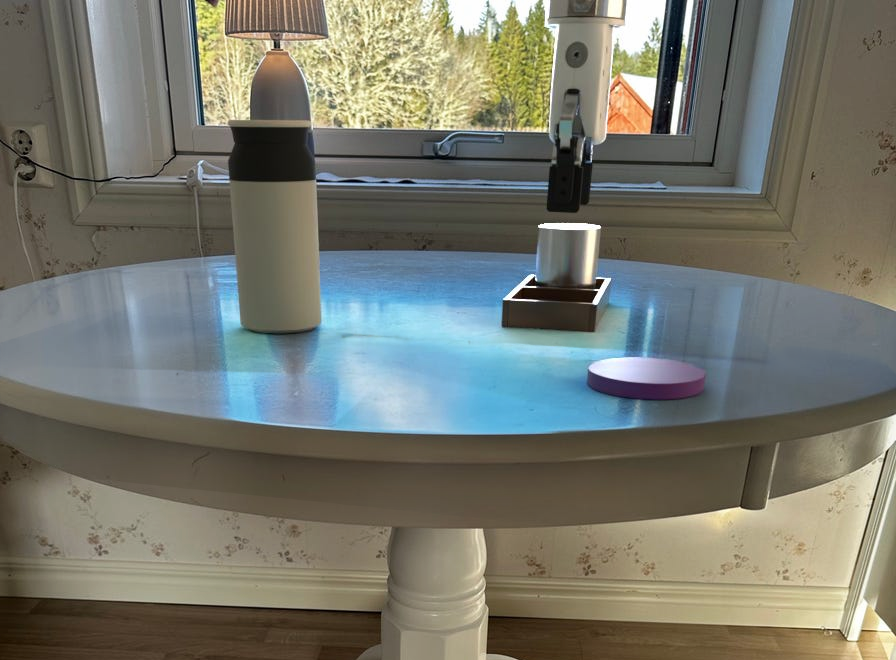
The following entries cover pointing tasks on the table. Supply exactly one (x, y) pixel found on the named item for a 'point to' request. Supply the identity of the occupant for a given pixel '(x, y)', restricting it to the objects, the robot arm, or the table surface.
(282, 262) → the travel mug
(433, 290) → the table surface
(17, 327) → the table surface
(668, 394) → the purple lid
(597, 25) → the robot arm
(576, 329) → the divided storage tray
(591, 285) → the brushed metal canister
